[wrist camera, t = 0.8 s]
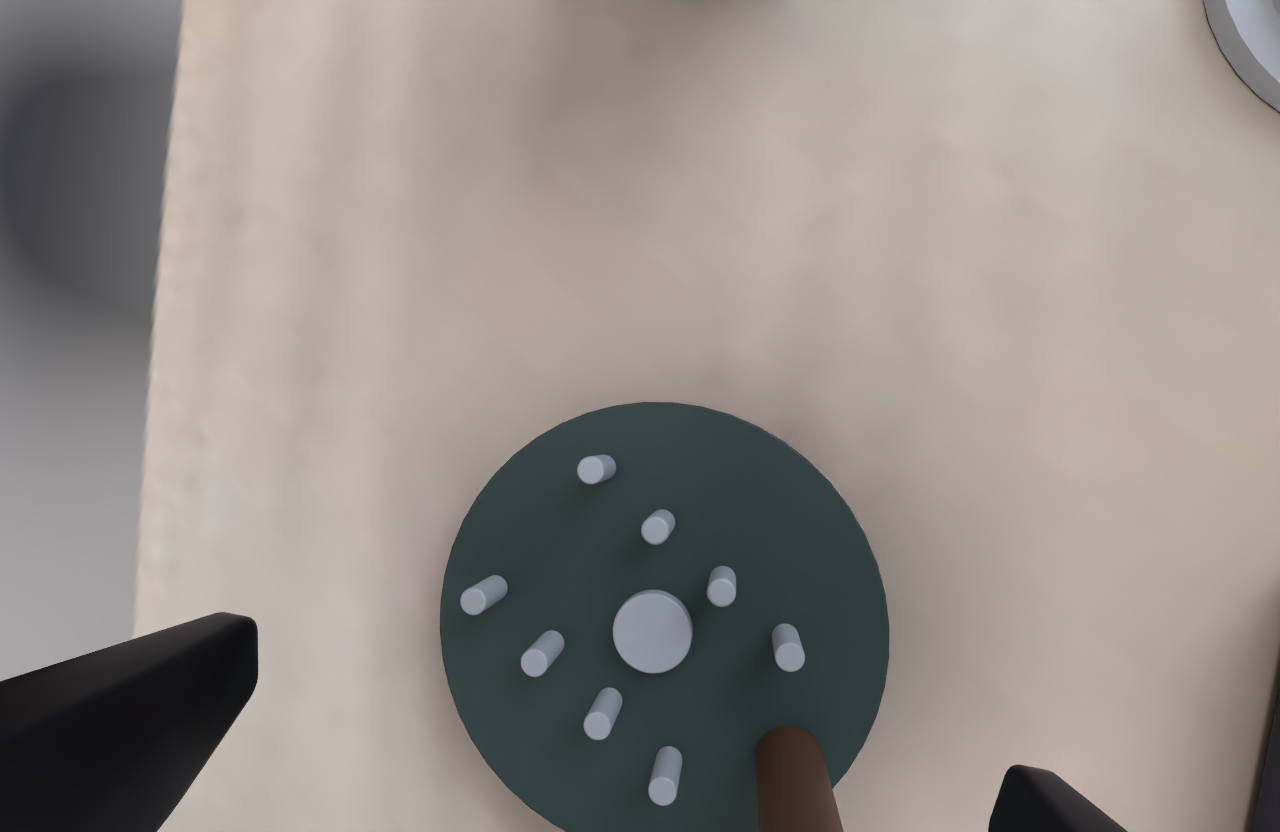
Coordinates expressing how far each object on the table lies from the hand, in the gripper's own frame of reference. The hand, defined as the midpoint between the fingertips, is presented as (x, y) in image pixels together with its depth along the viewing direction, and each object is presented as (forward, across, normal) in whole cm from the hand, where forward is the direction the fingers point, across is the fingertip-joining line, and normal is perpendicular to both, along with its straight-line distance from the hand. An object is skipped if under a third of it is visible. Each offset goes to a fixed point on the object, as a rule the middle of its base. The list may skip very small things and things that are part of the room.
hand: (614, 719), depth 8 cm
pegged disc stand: (+13, 0, +7) cm, 15 cm away
